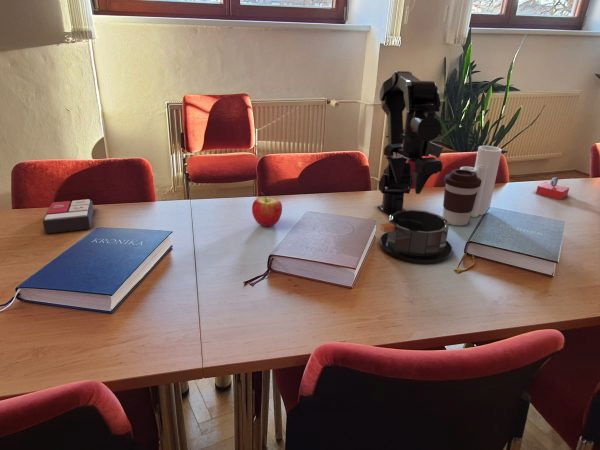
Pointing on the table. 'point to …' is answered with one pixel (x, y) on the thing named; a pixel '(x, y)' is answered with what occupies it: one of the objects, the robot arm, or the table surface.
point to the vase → (485, 177)
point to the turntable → (414, 259)
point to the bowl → (416, 232)
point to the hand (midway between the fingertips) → (407, 188)
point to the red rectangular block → (552, 189)
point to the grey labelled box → (68, 216)
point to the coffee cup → (460, 196)
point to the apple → (266, 211)
